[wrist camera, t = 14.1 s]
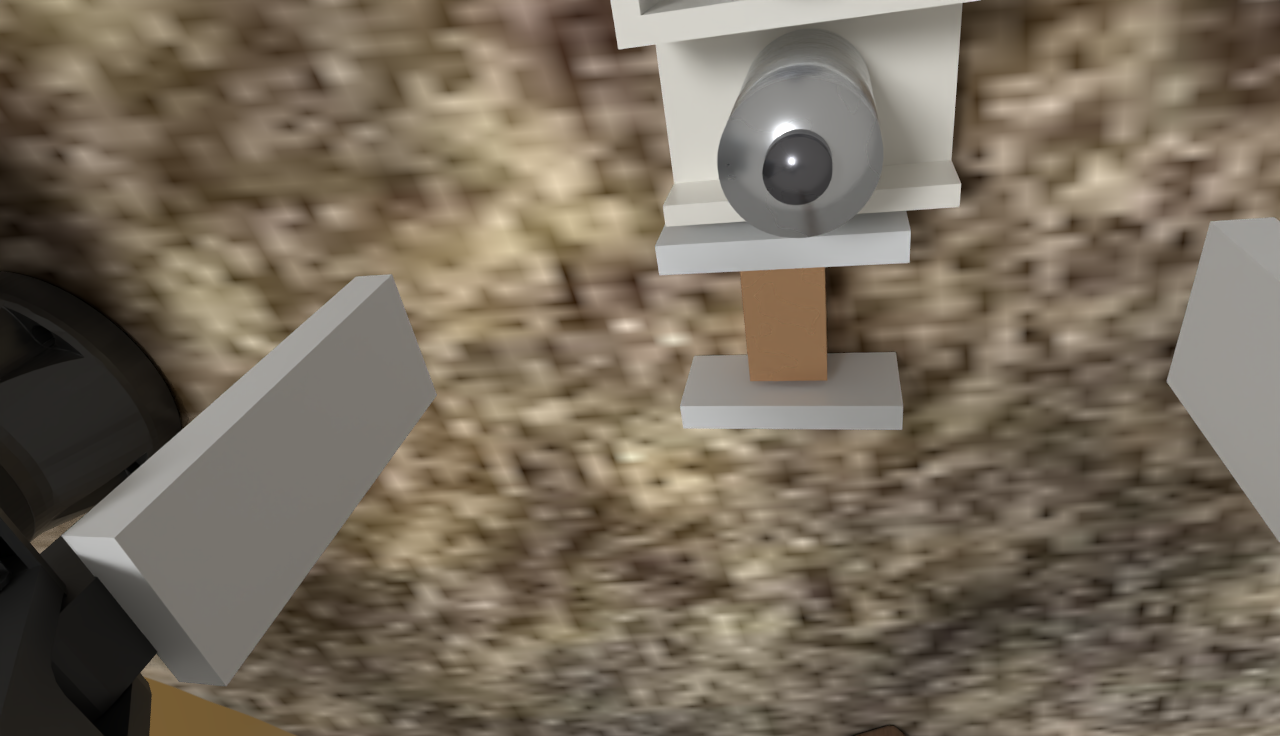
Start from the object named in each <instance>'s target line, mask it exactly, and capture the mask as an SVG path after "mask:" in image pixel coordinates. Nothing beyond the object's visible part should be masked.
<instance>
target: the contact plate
mask: <svg viewBox="0 0 1280 736" xmlns="http://www.w3.org/2000/svg"><path fill="white" fill-rule="evenodd" d="M740 277H741V288H742V299H743V310H744V321H745V331H746V342H747V353H748V364H749V375H750V381H827V307H826V267H815V268H795V269H775V270H754V271H740Z"/></svg>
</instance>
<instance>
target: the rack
mask: <svg viewBox="0 0 1280 736" xmlns="http://www.w3.org/2000/svg"><path fill="white" fill-rule="evenodd" d="M972 1H979V0H611V6H612V12H613V18H614V25H615V31H616V37H617V43H618V49H625V48H632V47H639V46H647V45H654V44H656V51H657V59H658V66H659V73H660V81H661V88H662V96H663V103H664V110H665V118H666V125H667V133H668V140H669V147H670V155H671V162H672V170H673V177H674V185H673V187H672V189H671V191H670V193H669V195H668V197H667V199H666V201H665V203H664V205H663V210H664V217H665V224H666V227H669V226H684V225H699V224H714V223H729V222H744V221H745V220H744V219H743V218H742V217H741V216H740V215H739V214H738V213H737V212H736V211H735V210H734V209H733V207H732V206H731V205H730V203H729V202H728V200H727V198H726V197H725V194H724V192H723V190H722V187H721V184H720V180H719V176H718V169H717V155H718V147H719V143H720V139H721V136H722V133H723V131H724V129H725V126H726V124H727V121H728V119H729V116H730V114H731V112H732V109H733V107H734V104H735V102H736V99H737V97H738V95H739V92H740V90H741V87H742V85H743V82H744V80H745V78H746V75H747V73H748V70H749V68H750V66H751V64H752V63H753V61H754V59H755V58H756V57H757V55H758V54H759V53H760V52H761V51H762V50H763V49H764V48H765V47H766V46H767V45H768V44H769V43H771V42H772V41H773V40H775V39H776V38H778V37H780V36H782V35H784V34H786V33H789V32H792V31H795V30H800V29H808V28H816V29H823V30H827V31H831V32H834V33H836V34H838V35H840V36H842V37H843V38H845V39H847V40H848V41H849V42H850V43H851V44H853V45H854V47H855V48H856V49H857V50H858V51H859V53H860V54H861V56H862V57H863V59H864V61H865V63H866V65H867V68H868V71H869V75H870V80H871V85H872V90H873V95H874V100H875V105H876V110H877V115H878V120H879V125H880V130H881V136H882V142H883V166H882V171H881V175H880V179H879V181H878V184H877V186H876V189H875V190H874V192H873V194H872V196H871V197H870V199H869V200H868V202H867V203H866V204H865V206H864V207H863V208H862V209H861V210H860V211H859V212H858V213H857V214H863V213H878V212H893V211H907V210H922V209H937V208H952V207H959V206H960V193H961V182H960V179H959V177H958V175H957V172H956V170H955V168H954V165H953V163H952V161H951V158H952V144H953V130H954V116H955V102H956V88H957V74H958V59H959V45H960V31H961V17H962V3H965V2H972Z"/></svg>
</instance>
